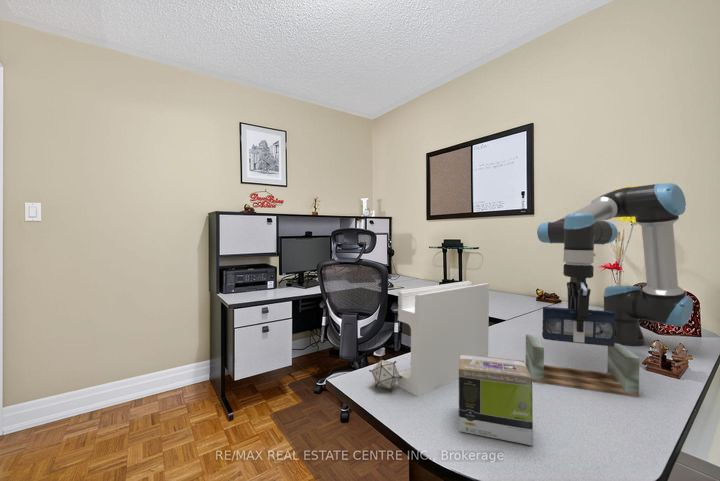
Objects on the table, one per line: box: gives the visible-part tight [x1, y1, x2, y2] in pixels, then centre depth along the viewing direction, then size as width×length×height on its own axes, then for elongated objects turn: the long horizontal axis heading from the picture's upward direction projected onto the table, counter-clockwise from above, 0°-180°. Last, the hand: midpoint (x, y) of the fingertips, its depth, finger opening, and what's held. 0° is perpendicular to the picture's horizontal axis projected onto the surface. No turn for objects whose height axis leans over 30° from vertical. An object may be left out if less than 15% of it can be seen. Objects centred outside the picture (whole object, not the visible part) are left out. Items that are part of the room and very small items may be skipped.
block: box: [397, 280, 490, 398], centre depth 98 cm, size 35×8×28 cm, turn 127°
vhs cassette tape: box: [541, 306, 615, 347], centre depth 95 cm, size 18×3×10 cm, turn 69°
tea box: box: [458, 354, 534, 446], centre depth 71 cm, size 15×10×15 cm, turn 71°
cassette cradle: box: [525, 333, 641, 398], centre depth 95 cm, size 26×12×11 cm, turn 70°
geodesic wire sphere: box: [368, 357, 402, 393], centre depth 89 cm, size 9×8×10 cm
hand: (576, 340), depth 95 cm, fingers closed on vhs cassette tape, 2 cm apart
